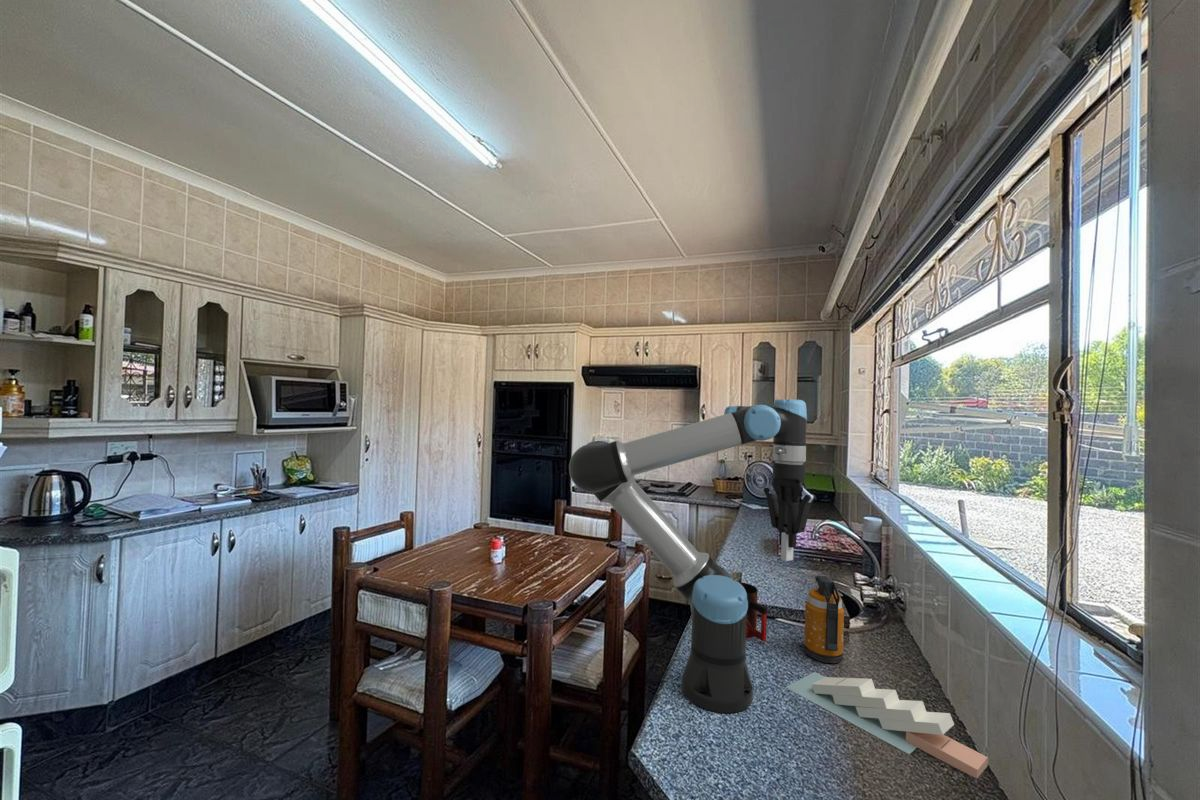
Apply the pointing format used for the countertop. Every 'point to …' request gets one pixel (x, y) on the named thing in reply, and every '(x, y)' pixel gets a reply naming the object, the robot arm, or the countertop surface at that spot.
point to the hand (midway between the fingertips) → (787, 559)
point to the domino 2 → (869, 699)
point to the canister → (824, 622)
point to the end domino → (950, 752)
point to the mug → (754, 614)
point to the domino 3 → (895, 711)
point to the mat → (850, 713)
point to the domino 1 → (843, 686)
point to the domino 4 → (921, 724)
